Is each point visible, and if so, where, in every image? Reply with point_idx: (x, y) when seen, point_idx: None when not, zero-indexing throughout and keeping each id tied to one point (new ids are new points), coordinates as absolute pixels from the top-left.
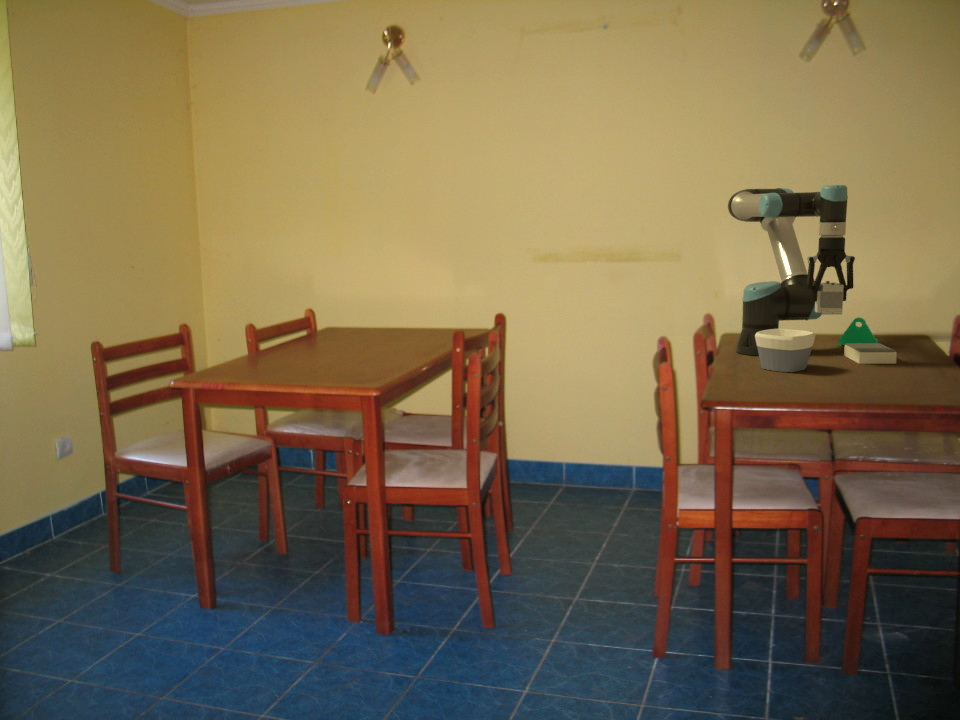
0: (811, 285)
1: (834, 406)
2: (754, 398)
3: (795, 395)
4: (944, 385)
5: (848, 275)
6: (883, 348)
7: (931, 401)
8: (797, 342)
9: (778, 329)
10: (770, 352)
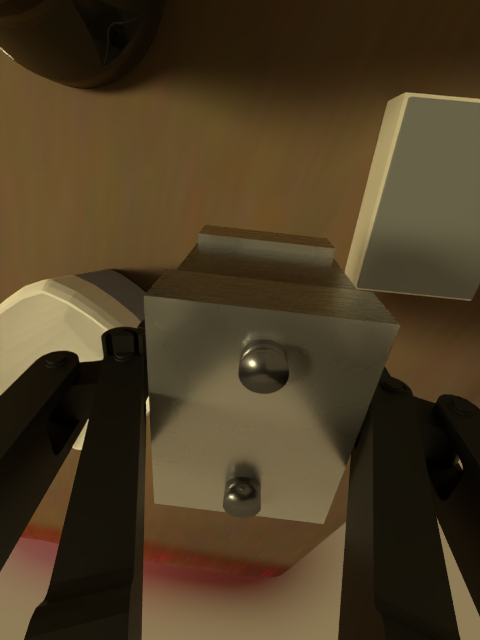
0: (70, 433)
1: (144, 553)
2: (45, 515)
3: None
4: None
5: (477, 569)
6: (466, 254)
7: (279, 552)
8: None
9: (43, 293)
10: None
